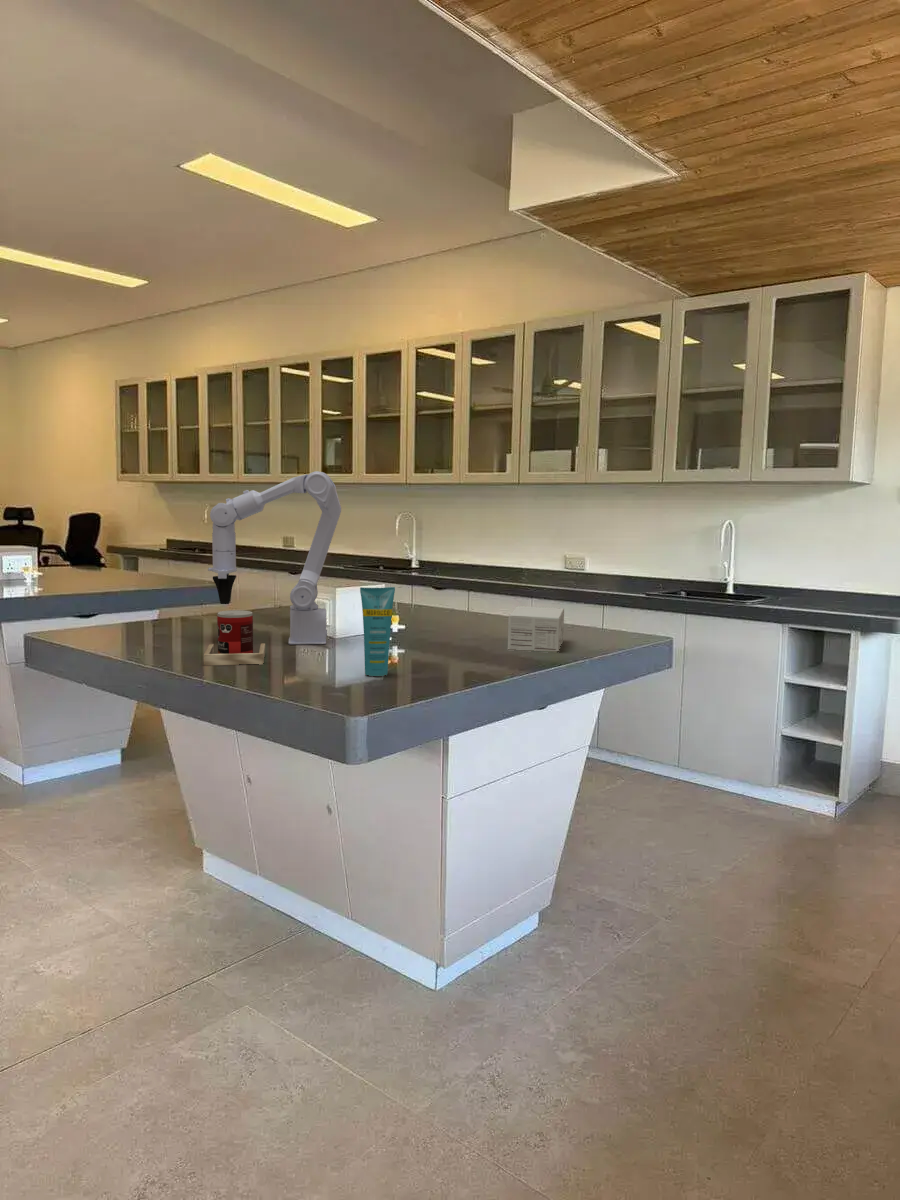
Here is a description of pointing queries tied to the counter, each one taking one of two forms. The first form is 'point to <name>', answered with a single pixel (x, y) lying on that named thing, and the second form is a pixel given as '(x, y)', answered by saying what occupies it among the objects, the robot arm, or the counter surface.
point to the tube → (377, 628)
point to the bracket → (233, 657)
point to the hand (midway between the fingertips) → (224, 603)
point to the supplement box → (536, 628)
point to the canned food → (235, 632)
